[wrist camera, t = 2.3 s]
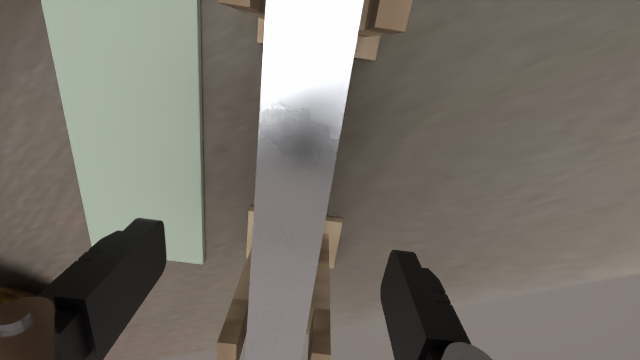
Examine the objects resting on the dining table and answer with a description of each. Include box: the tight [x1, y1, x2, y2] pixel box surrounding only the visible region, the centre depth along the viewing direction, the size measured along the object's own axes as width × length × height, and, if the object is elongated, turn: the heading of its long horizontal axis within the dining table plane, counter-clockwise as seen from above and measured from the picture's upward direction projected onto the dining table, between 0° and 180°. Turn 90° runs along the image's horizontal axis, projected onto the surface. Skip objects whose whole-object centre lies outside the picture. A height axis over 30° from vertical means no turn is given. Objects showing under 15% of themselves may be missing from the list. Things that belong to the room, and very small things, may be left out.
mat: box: [41, 0, 205, 264], centre depth 23 cm, size 10×26×1 cm, turn 172°
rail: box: [245, 0, 364, 360], centre depth 14 cm, size 3×26×3 cm, turn 172°
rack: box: [217, 0, 413, 360], centre depth 18 cm, size 8×23×12 cm, turn 172°
